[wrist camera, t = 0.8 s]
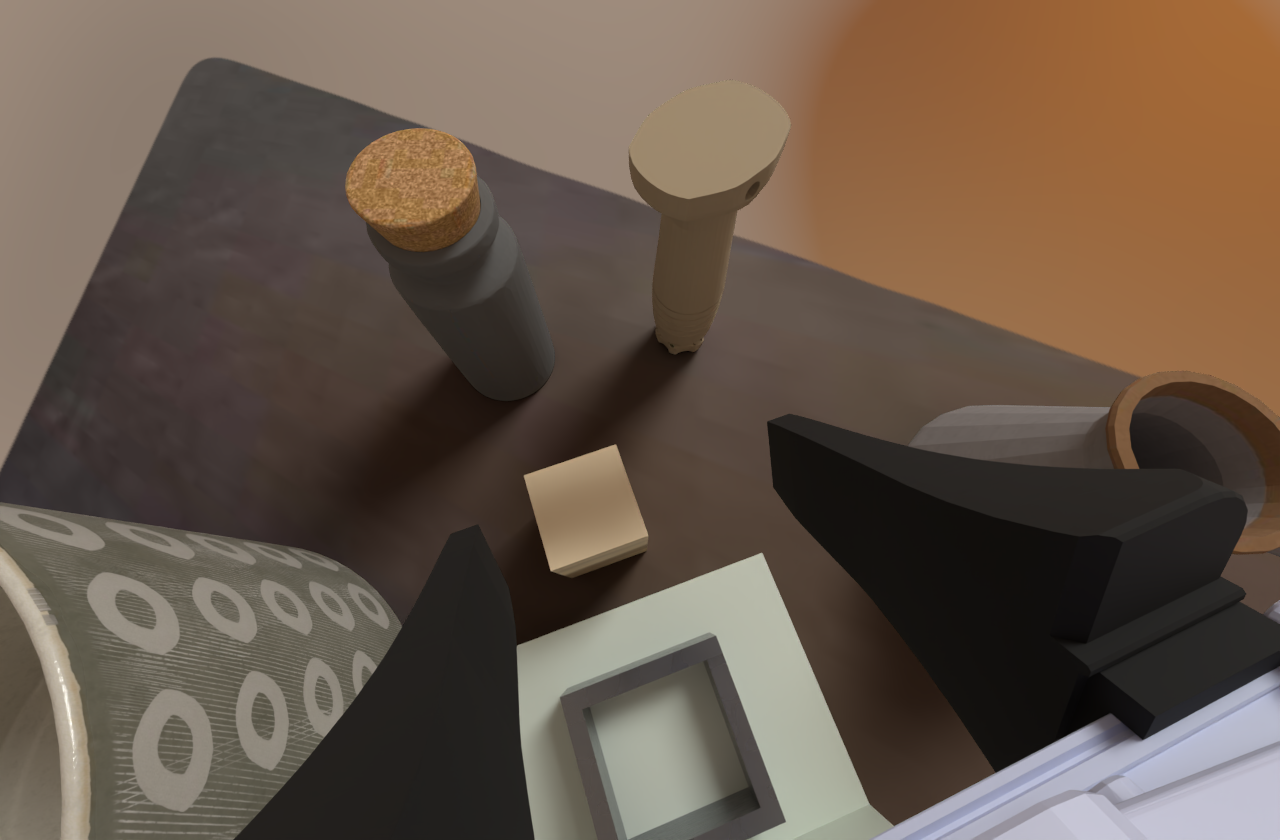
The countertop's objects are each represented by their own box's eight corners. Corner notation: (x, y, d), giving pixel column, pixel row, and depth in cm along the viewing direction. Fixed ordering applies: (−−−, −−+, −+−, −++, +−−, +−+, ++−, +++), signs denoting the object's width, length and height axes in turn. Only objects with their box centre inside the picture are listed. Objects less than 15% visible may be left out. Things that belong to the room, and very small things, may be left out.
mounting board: (868, 818, 24) (959, 904, 17) (547, 965, 22) (506, 1126, 15) (757, 554, 28) (794, 540, 21) (479, 660, 26) (423, 681, 19)
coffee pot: (838, 540, 28) (1034, 481, 14) (923, 388, 32) (1151, 218, 17) (1231, 799, 24) (2059, 1078, 10) (1283, 594, 27) (1967, 589, 13)
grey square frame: (786, 841, 23) (804, 869, 20) (629, 913, 22) (627, 951, 19) (709, 632, 26) (716, 635, 23) (567, 688, 25) (559, 697, 22)
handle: (619, 340, 33) (604, 142, 19) (690, 284, 34) (725, 63, 20) (669, 390, 32) (693, 220, 17) (740, 331, 33) (816, 129, 19)
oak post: (646, 550, 28) (648, 535, 22) (571, 578, 28) (550, 571, 21) (621, 479, 30) (615, 444, 23) (550, 503, 29) (523, 475, 23)
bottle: (535, 413, 31) (447, 258, 17) (449, 386, 32) (295, 214, 18) (569, 335, 33) (515, 135, 19) (488, 310, 34) (377, 100, 19)
